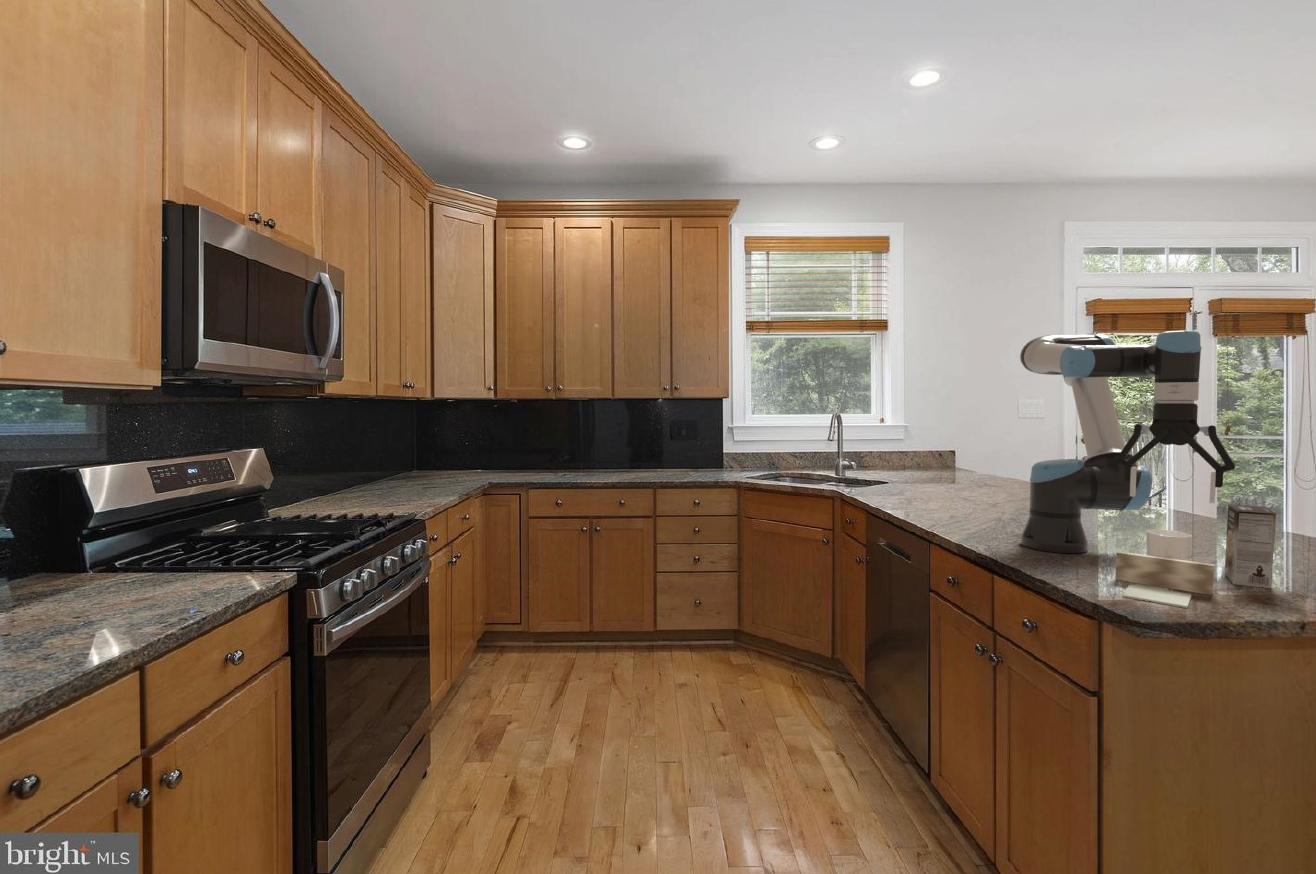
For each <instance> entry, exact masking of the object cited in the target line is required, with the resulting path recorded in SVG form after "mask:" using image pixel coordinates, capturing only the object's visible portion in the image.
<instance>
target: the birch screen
mask: <svg viewBox="0 0 1316 874" xmlns="http://www.w3.org/2000/svg"><path fill="white" fill-rule="evenodd" d="M1115 560H1116V561H1115V579H1117V581H1121V580H1122V581H1123V582H1127V581H1128V583H1129V582H1130V583H1134V584H1139V585H1140V584H1141V585H1148V586H1154V587H1159V588H1160V587H1161V588H1165V589H1172V590H1178V591H1185V592H1191V593H1197V594H1203V595H1209V596H1213V594H1214V593H1213V592H1214V575H1215V564H1214V563H1213V564H1212V563H1205V562H1199V561H1192V560H1189V561H1185V560H1177V559H1170V558H1162V557H1155V556H1148V555H1147V554H1146V555H1145V554H1139V553H1133V552H1132V553H1131V552H1124V551H1117V552H1116V557H1115Z"/></svg>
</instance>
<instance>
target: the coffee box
mask: <svg viewBox="0 0 1316 874" xmlns="http://www.w3.org/2000/svg"><path fill="white" fill-rule="evenodd" d="M1276 522H1277V513H1276V512H1274V511H1272V509H1269V508H1268V507H1266V506H1256V505H1255V506H1253V505H1252V506H1251V505H1238V504H1237V505H1236V504H1228V505H1227V524H1226V542H1225V543H1226V544H1225V559H1224V560H1225V561H1224V562H1225V563H1224V575H1225V576H1226V577H1227V579H1229V580H1230V582H1231V583H1232V585H1236V586H1247V587H1253V588H1254V587H1255V588H1261V587H1263V589H1264V588H1265V589H1270V588H1271V589H1272V582H1273V566H1274V553H1275V550H1274V549H1275V540H1276V539H1275V537H1276V524H1277V523H1276Z"/></svg>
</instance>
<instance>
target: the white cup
mask: <svg viewBox="0 0 1316 874" xmlns="http://www.w3.org/2000/svg"><path fill="white" fill-rule="evenodd" d="M1145 533H1146V537H1145V538H1146V541H1145V542H1146V543H1145V544H1146V548H1145V550H1146V555H1148V556H1155V557H1162V558H1170V559H1177V560H1185V561H1191V559H1190V558H1191V552H1192V551H1191V550H1192V549H1191V548H1192V544H1193V543H1192V542H1193V535H1192V534H1191V533H1188V532H1183V531H1178V530H1177V531H1176V530H1170V529H1148V530H1146V532H1145Z"/></svg>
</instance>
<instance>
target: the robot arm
mask: <svg viewBox="0 0 1316 874" xmlns="http://www.w3.org/2000/svg"><path fill="white" fill-rule="evenodd" d="M1020 351H1021V352H1020V353H1019V354H1020V355H1019V359H1020V363H1021V364H1022V366H1023V367H1024V368H1025V369H1026V370H1027V371H1029V372H1031V373H1033V374H1039V375H1050V376H1051V375H1052V376H1053V375H1054V376H1057V375H1059V376H1060V375H1062V377H1063V380H1064V383H1065V384H1066V385H1068V386H1070V387H1071V388H1072V393H1073V397H1074V401H1075V402H1074V403H1075V405H1076V410H1077V415H1078V419H1079V424H1080V429H1081V433H1082V437H1083V443H1084V446H1085V451H1086V456H1087V457H1086V458H1085V459H1084V460H1082V459H1077V458H1067V459H1064V458H1061V459H1060V458H1059V459H1050V460H1043V461H1038V462H1036V463H1034V464H1033V465H1032V466H1031V472H1030V478H1029V482H1030V483H1029V484H1030V488H1029V490H1030V491H1029V492H1030V494H1029V513H1028V514H1029V516H1028V518H1027V521H1026V524H1025V526H1024V528H1023V530H1022V533H1021V538H1020V544H1021V545H1022V546H1024V547H1026V548H1029V549H1033V550H1038V551H1041V552H1042V551H1043V552H1051V553H1060V554H1081V553H1086V552H1087V551H1088V550H1089V549H1088V548H1089V543H1088V539H1087V536H1086V532H1085V530H1084V526H1083V523H1082V519H1081V518H1082V510H1101V511H1102V510H1104V511H1105V510H1107V511H1118V512H1124V511H1136V510H1140V509H1142V508H1143V507H1144V506H1145V505H1146V504H1147V503H1148V502H1149V499H1150V496H1151V493H1152V488H1153V478H1152V473H1151V471H1150V469H1149V468H1148V467H1147V466H1145V465H1139V464H1138V463H1137V462H1138V461H1139V460H1140V459H1141V458H1143V457H1144V456H1145V455H1146V454H1148V453H1149V452H1150V451H1151V450H1152V449H1154V447H1156V446H1157V445H1158V444H1160V445H1161V444H1162V445H1164V446H1166V445H1167V446H1169V445H1175V446H1185V445H1189V447H1191V448H1192V449H1193V450H1194V451H1195V452H1196V453H1197V454H1198V455H1199V456H1200V457H1201V458H1202V460H1205V461H1206V463H1208V465H1209V466H1210V467H1211V468H1213V469H1214V470H1213V471H1211V472H1210V483H1209V484H1210V485H1209V504H1215V502H1216V488H1222V487H1223V484H1224V473H1225V472H1229V471H1233V470H1235V468H1236V465H1235V463H1234V461H1233V459H1232V458H1231V456H1230V454H1228V453H1229V452H1228V451H1227V450H1226V448H1225V447H1224V445H1223V443H1222V442H1221V440H1220V439H1219V436H1218V433H1217V426H1216V425H1214V424H1211V425H1207V426H1206V425H1204V426H1199V424H1198V411H1199V410H1198V409H1199V405H1198V404H1197V403H1195V401H1196V402H1197V401H1199V393H1200V392H1199V390H1200V389H1199V388H1200V381H1199V380H1200V372H1201V371H1200V370H1201V369H1200V368H1201V367H1200V366H1201V355H1202V354H1201V352H1202V346H1201V334H1200V332H1199V331H1197V330H1169V331H1164V332H1160V333H1158V334H1157V336H1156V340H1155V343H1154V344H1153V343H1152V344H1124V345H1122V344H1121V345H1119V344H1118V345H1117V344H1116V343H1115V342H1114V340H1113V339H1112V338H1111V337H1110V336H1108V335H1106V334H1096V333H1088V334H1053V335H1052V334H1049V335H1044V336H1039V337H1035V338H1033V339H1031V340H1029V341H1028V342H1027V343H1026V344H1025V345H1024V346H1023V347H1022V349H1021V350H1020ZM1110 378H1140V379H1145V378H1147V379H1152V378H1154V380H1153V381H1154V384H1153V385H1154V387H1153V401H1155V402H1156V403H1154V404H1153V406H1152V407H1153V409H1152V411H1153V412H1152V422H1151V425H1148V424H1141V423H1136V424H1135V425H1134V429H1133V434H1132V435H1131V436H1130V437H1129V439H1128V441H1127V442H1126V444H1125V441H1124V437H1123V434H1122V431H1121V427H1120V423H1119V419H1118V414H1117V410H1116V407H1115V403H1114V399H1113V395H1112V392H1111V391H1112V390H1111V387H1110V383H1109V379H1110ZM1147 431H1150V433H1151V434H1152V435H1153V436H1154V437H1153V438H1152V439H1151V440H1150V441H1149V442H1148V443H1147V444H1146V445H1144V446H1143V447H1142V448H1141V449H1139V450H1138V451H1137V452H1136V453H1135V454H1132V453H1131V450H1132V449H1133V448H1134V446H1135V445H1136V443H1137V442H1138V440H1139V439H1140V437H1141V435H1144V434H1146V433H1147ZM1199 432H1202V433H1203V434H1204V436H1205V437H1206V436H1207V437H1208V438H1209V439H1210V442H1211V443H1212V445H1213V446H1214V448H1215V450H1216V451H1217V453H1218V455H1219V457H1220V458H1221V460H1222V461H1223V463H1224V464H1223V465H1222V464H1220V463H1219V461H1217V459H1215V457H1213V456H1212V455H1211V453H1209V452H1208V451H1207V450H1206V449H1205V448H1204V447H1203V446H1202V445H1201V444H1200V443H1199V442H1198V441H1197V440H1196V439H1195V437H1196V436H1197V434H1199Z"/></svg>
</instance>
